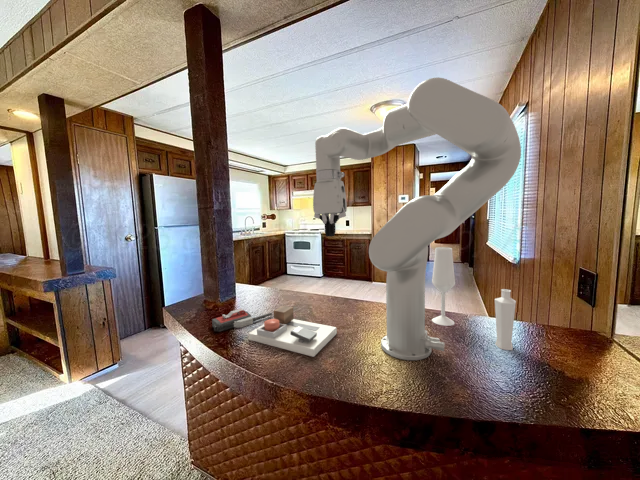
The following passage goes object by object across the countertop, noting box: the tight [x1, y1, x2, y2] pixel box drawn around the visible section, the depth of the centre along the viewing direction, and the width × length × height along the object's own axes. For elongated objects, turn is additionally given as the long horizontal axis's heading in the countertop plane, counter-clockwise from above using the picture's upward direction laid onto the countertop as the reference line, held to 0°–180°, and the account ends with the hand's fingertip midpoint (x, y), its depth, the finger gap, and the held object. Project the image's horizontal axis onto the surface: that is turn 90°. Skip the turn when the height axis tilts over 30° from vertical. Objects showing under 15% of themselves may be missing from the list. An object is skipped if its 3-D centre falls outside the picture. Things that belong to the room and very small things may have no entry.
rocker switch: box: [290, 326, 317, 342], centre depth 69 cm, size 6×4×1 cm, turn 62°
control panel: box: [248, 318, 338, 357], centre depth 75 cm, size 22×14×4 cm, turn 62°
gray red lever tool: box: [211, 308, 273, 332], centre depth 88 cm, size 9×4×20 cm
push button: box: [263, 318, 280, 332], centre depth 74 cm, size 4×4×2 cm
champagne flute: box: [431, 246, 456, 327], centre depth 81 cm, size 7×7×24 cm
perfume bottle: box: [494, 288, 517, 351], centre depth 65 cm, size 5×4×15 cm
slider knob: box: [273, 305, 295, 324], centre depth 81 cm, size 4×5×4 cm
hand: (330, 236), depth 81 cm, fingers closed
